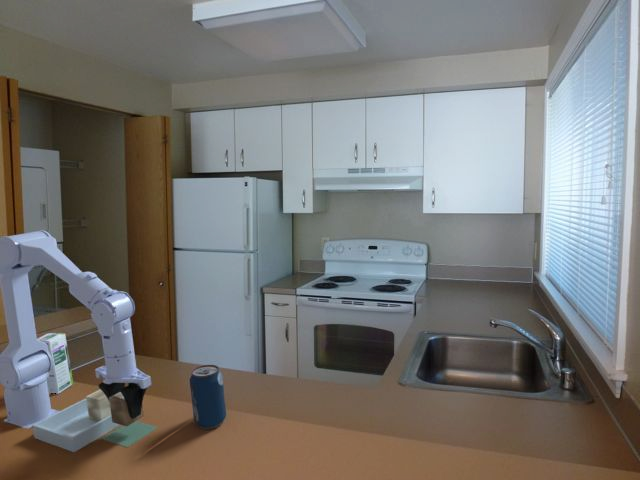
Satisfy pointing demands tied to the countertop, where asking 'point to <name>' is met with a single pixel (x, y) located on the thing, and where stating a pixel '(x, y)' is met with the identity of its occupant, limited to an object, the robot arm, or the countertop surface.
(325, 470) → the countertop surface
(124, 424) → the brown wooden block
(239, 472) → the countertop surface
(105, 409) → the birch block
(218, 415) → the soda can
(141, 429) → the mat
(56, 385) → the syrup box
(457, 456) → the countertop surface
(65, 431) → the bin
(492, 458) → the countertop surface
